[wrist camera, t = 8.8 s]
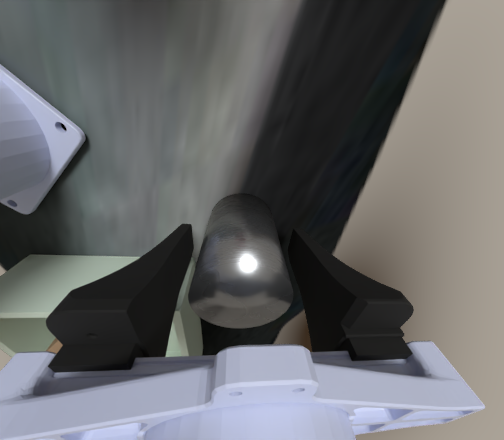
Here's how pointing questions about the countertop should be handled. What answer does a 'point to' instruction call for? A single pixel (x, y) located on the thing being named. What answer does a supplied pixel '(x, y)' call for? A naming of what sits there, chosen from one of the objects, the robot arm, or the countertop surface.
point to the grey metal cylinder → (240, 266)
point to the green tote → (56, 289)
